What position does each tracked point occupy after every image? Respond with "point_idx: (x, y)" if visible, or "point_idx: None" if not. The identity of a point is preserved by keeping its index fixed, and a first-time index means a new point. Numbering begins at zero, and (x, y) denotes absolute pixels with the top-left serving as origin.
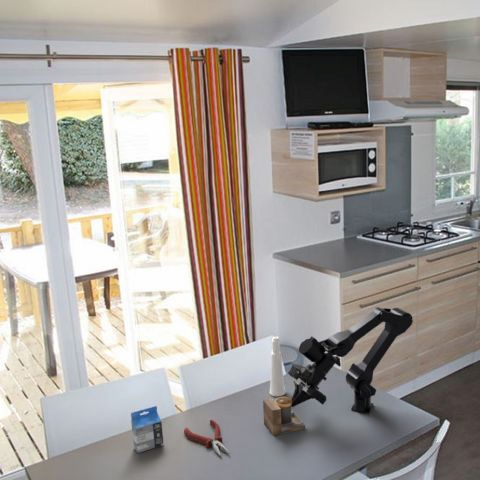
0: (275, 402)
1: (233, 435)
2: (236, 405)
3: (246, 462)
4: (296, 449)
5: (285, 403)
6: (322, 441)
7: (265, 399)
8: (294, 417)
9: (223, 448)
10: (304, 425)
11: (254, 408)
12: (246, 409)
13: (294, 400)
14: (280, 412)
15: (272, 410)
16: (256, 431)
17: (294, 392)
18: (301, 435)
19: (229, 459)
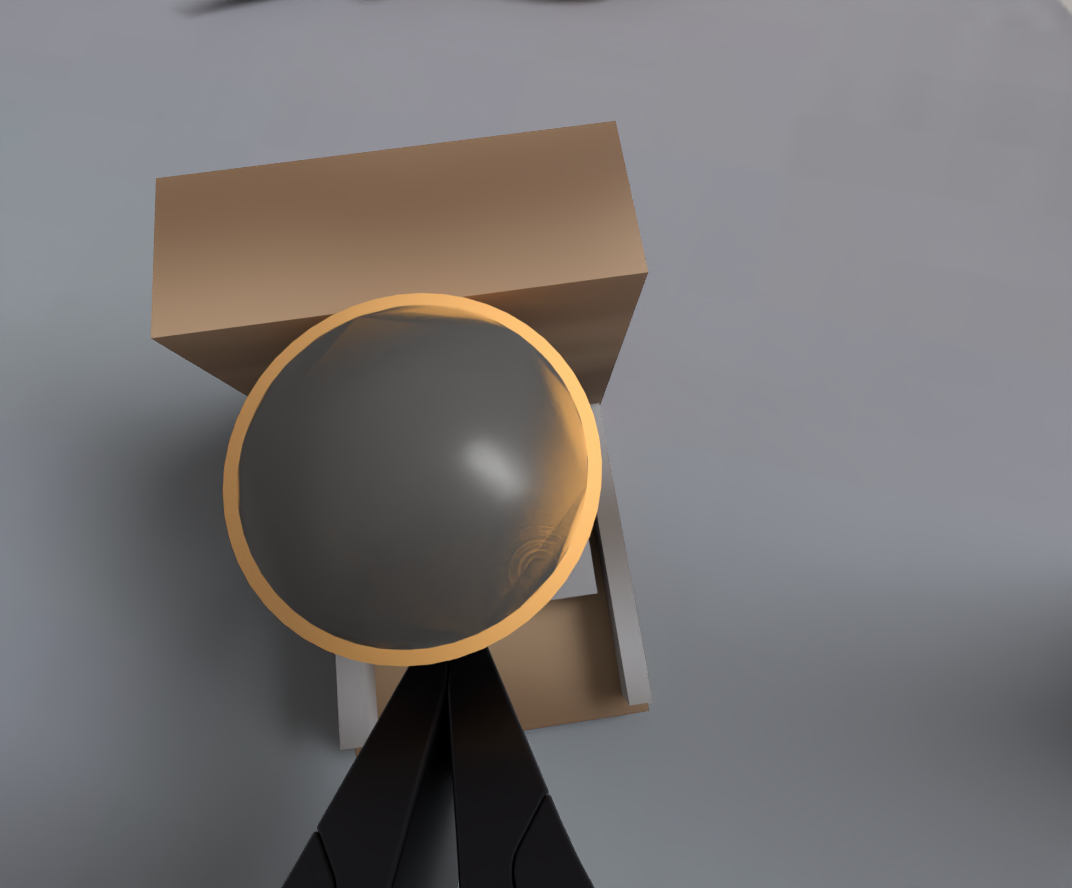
0: (439, 304)
1: (469, 76)
2: (984, 177)
3: (67, 99)
4: (40, 522)
5: (269, 471)
6: (40, 857)
7: (608, 160)
8: (575, 679)
9: None
10: (359, 747)
11: (904, 320)
12: (893, 246)
13: (373, 740)
14: (203, 360)
15: (160, 183)
16: None
17: (552, 876)
18: (249, 652)
19: (161, 6)
